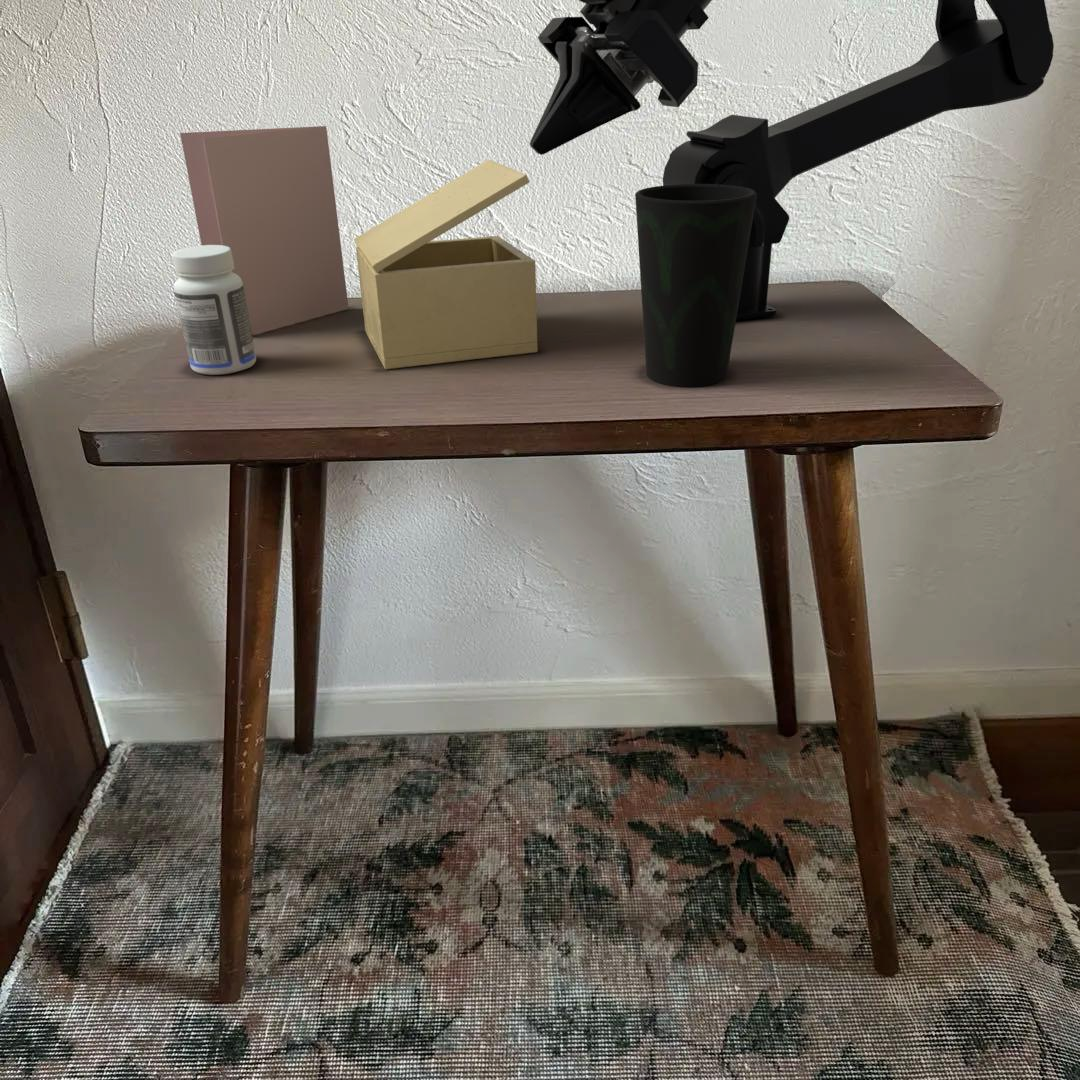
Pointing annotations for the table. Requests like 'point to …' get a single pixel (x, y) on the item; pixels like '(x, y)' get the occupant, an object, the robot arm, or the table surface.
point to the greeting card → (271, 218)
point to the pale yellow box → (451, 303)
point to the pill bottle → (213, 310)
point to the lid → (438, 213)
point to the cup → (691, 277)
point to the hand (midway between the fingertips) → (535, 150)
